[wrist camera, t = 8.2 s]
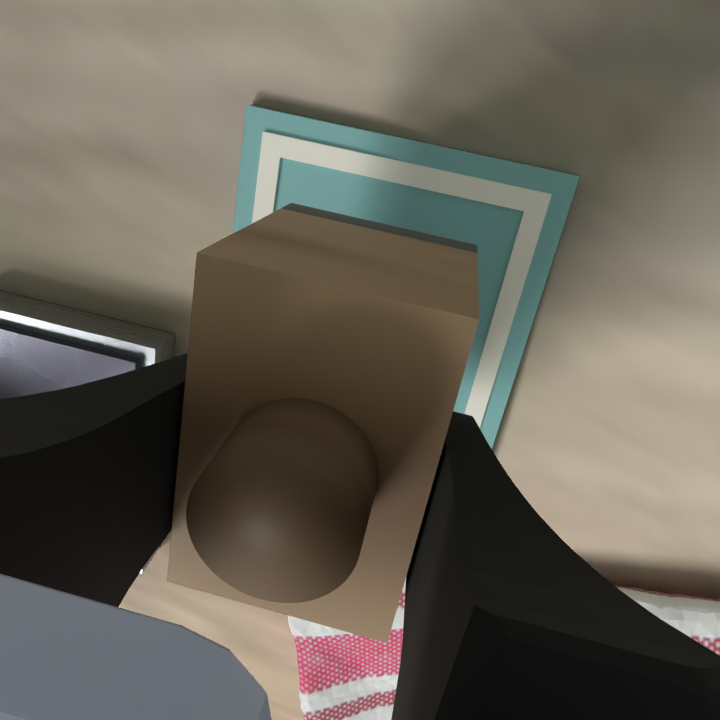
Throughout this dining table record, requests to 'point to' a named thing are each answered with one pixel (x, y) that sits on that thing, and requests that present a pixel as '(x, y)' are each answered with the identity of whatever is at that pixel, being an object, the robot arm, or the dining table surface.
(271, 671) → the dining table surface
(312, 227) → the hand stamp
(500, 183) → the marked card
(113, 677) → the robot arm
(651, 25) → the dining table surface
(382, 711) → the dish towel
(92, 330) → the ink pad
